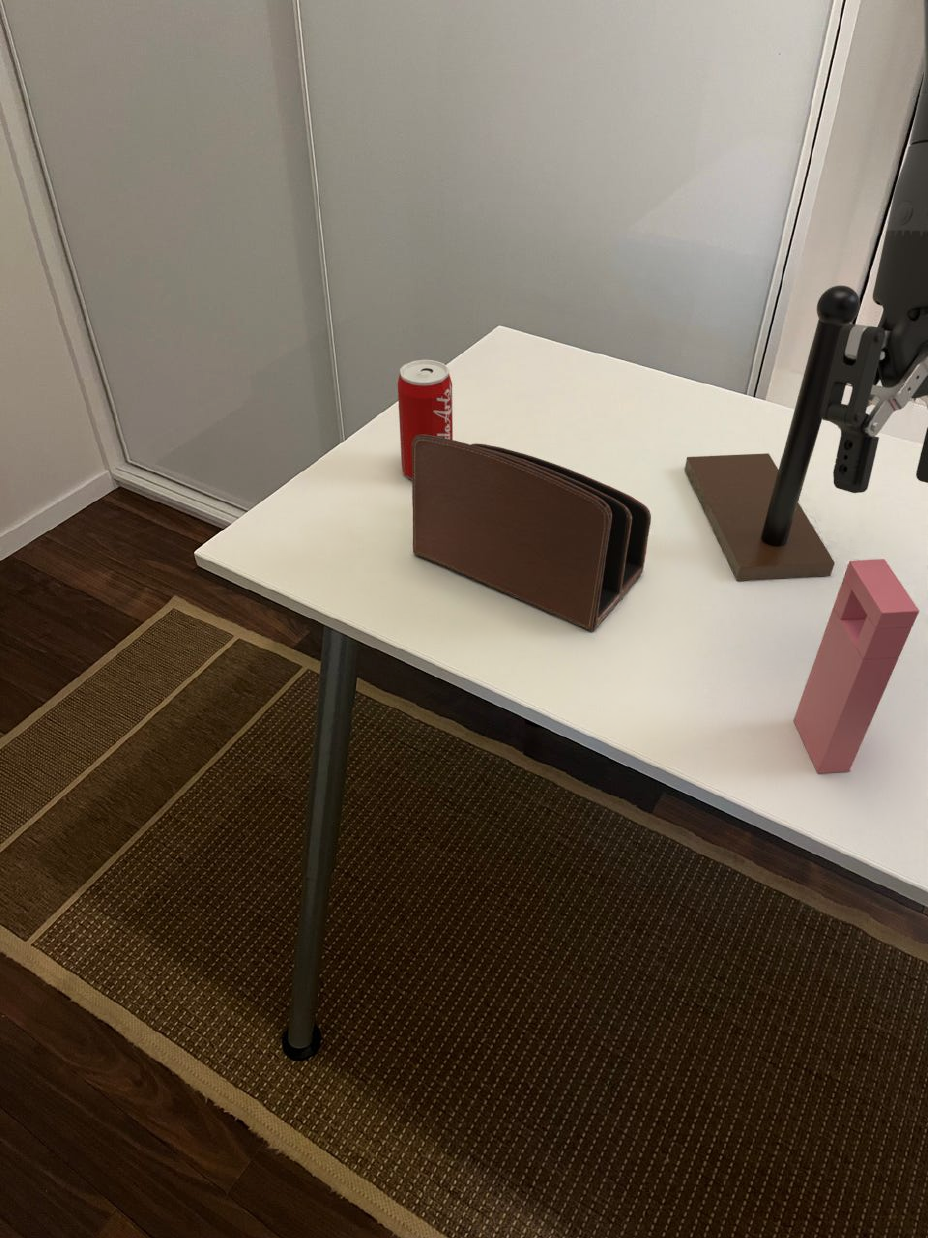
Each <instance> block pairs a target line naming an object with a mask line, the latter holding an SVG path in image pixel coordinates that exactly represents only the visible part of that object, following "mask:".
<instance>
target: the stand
mask: <svg viewBox="0 0 928 1238" xmlns="http://www.w3.org/2000/svg"><path fill="white" fill-rule="evenodd" d="M860 309H861V301H860V297H859V294H858V292H857V291H855V290H854V288H852V287H849V286H847V285H834V286H831V287H830V288H828V289H826V290H824V292H823V293H822V294H821V295H820V297H819V298H818V300H817V304H816V314H817V318H818V320H817V324H816V326H815V327H816V328H815V332H814V335H813V338H812V343H811V346H810V351H809V354H808V358H807V360H806V361H807V362H806V365H805V369H804V373H803V376H802V380H801V384H800V388H799V392H798V395H797V399H796V403H795V406H794V410H793V415H792V419H791V421H790V424H789V428H788V434H787V436H786V441H785V444H784V448H783V452H782V455H781V459H780V463H779V467H778V466H777V465H776V463H775V461H774V459H773V458H772V457H771V455H770V453H769V452H767V453H747V454H746V453H745V454H744V453H743V454H724V455H723V454H722V455H702V456H701V455H700V456H687V457H686V460H685V466H684V471H685V473H686V475H687V477H688V479H689V482H690V484H691V486H692V488H693V490H694V492H695V495H696V497H697V499H698V501H699V503H700V505H701V507H702V509H703V512H704V514H705V516H706V518H707V520H708V521H709V524H710V526H711V529H712V531H713V533H714V535H715V537H716V540H717V541H718V544H719V546H720V548H721V550H722V552H723V555H724V556H725V559H726V560H727V563H728V565H729V567H730V569H731V571H732V573H733V575H734V578H735V579H736V581H737V582H742V581H743V582H744V581H760V580H761V581H762V580H778V579H796V578H797V579H798V578H799V579H800V578H818V577H831V575H832V573H833V570H834V566H835V564H836V562H835V561H834V559H833V557H832V555H831V554H830V552H829V551H828V549H827V547H826V545H825V544H824V542H823V541H822V539H821V537H820V536H819V534H818V532H817V531H816V529H815V527H814V526H813V524H812V522H811V520H810V519H809V518H808V516H807V514H806V513H805V511H804V509H803V508H802V506H801V504H800V503H799V502H800V501H799V500H800V498H801V497H800V496H801V493H802V490H803V487H804V484H805V481H806V480H805V479H806V477H807V473H808V469H809V466H810V463H811V459H812V456H813V453H814V449H815V446H816V441H817V439H818V435H819V431H820V428H821V425H822V421H823V419H822V418H821V416H820V411H821V407H822V403H823V399H824V394H825V390H826V386H827V382H828V378H829V374H830V370H831V366H832V362H833V357H834V353H835V349H836V345H837V341H838V337H839V333H840V330H841V328H842V327H843V325H845V324H847V323H849V324H852V322H853V321H855V319H856V318H857V316H858V315H859V312H860Z"/></svg>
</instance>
